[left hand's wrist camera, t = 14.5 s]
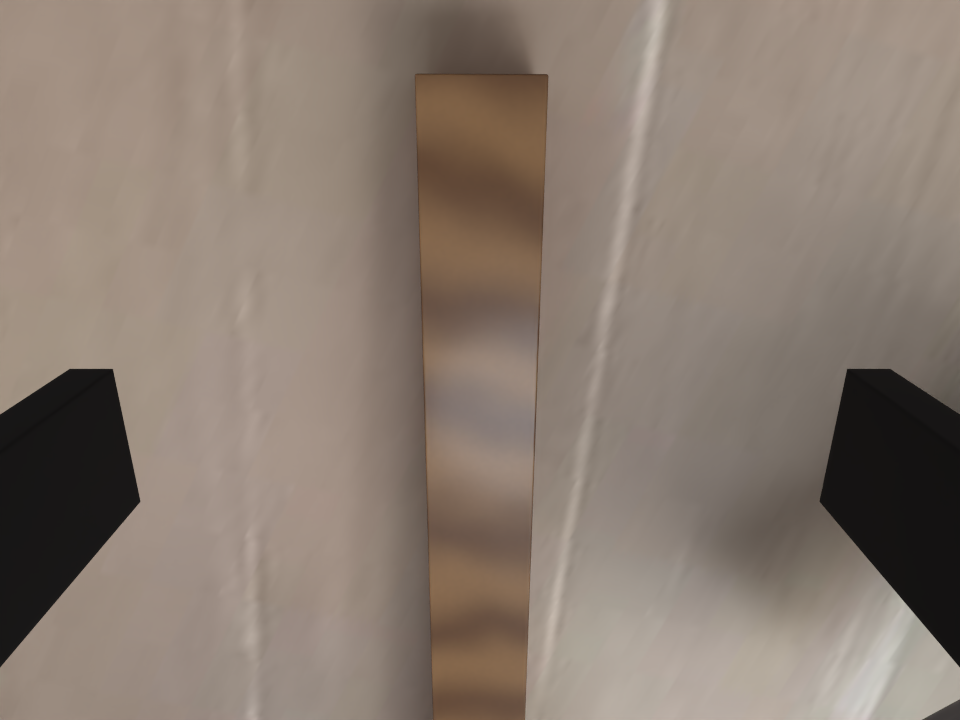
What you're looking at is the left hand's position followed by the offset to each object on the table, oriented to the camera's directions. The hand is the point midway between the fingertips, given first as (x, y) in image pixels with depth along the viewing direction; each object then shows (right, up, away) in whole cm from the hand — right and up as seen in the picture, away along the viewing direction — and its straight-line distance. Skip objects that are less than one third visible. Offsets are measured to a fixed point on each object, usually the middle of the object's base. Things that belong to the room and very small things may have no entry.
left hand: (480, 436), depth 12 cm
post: (0, -16, +35) cm, 38 cm away
